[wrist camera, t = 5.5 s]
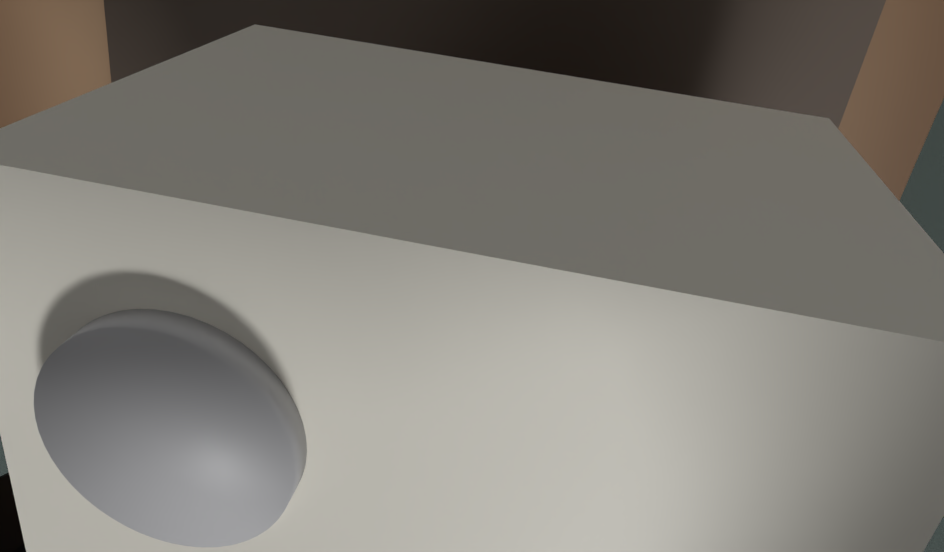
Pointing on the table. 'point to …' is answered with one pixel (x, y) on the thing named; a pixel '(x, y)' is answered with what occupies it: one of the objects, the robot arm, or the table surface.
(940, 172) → the table surface
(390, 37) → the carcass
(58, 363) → the white block
